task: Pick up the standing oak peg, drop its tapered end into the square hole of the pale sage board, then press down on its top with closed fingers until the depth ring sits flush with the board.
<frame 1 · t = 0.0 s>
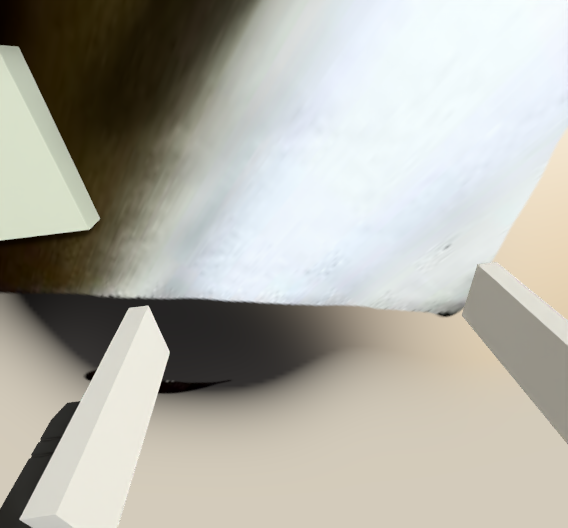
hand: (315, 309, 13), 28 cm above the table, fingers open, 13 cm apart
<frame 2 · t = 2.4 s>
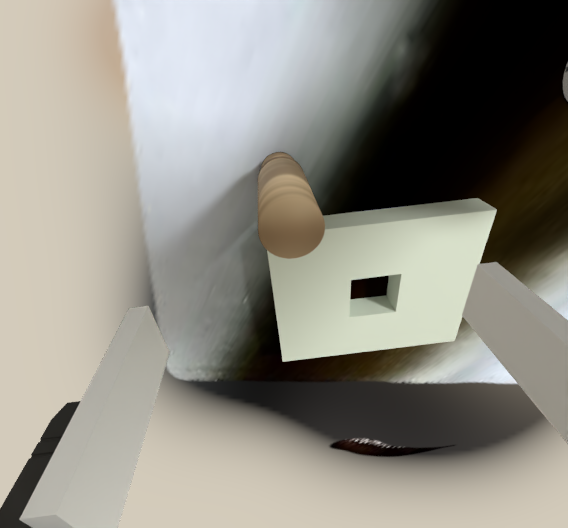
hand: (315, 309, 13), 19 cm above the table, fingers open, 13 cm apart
peg: (279, 171, 28), on the table
board: (366, 280, 36), on the table
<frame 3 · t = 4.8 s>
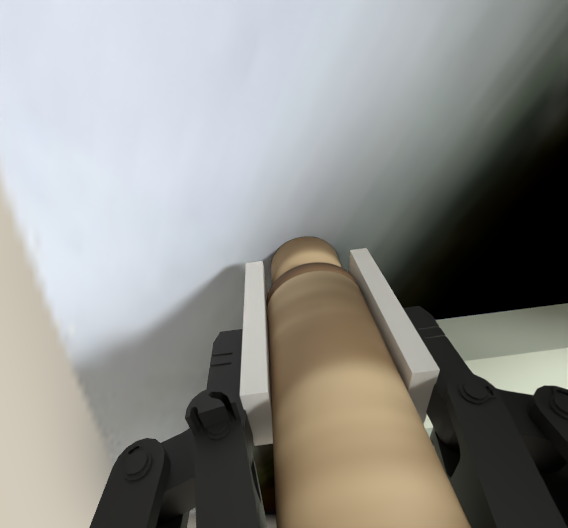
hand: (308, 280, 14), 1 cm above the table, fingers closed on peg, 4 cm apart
peg: (304, 266, 15), on the table, touching gripper
board: (433, 403, 23), on the table
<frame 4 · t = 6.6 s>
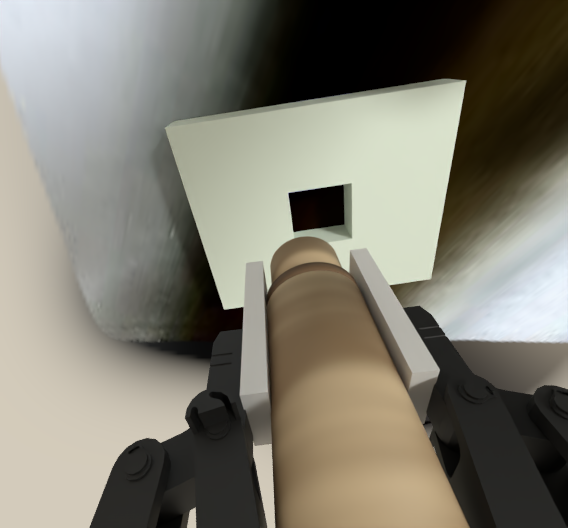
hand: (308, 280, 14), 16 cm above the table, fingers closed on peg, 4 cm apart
peg: (304, 266, 15), point 15 cm above the table, touching gripper
board: (316, 203, 29), on the table
when the fingers open (5 cm above the table, at t = 8.3 s): peg drops 4 cm, resting in board.
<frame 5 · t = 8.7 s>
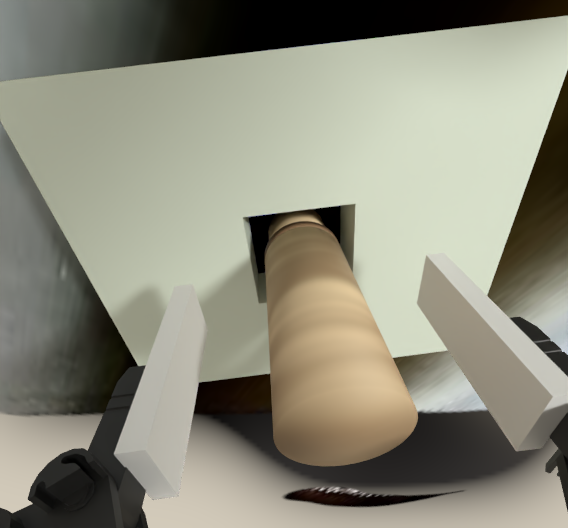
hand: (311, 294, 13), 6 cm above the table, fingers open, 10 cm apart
peg: (296, 231, 18), resting in board
board: (296, 231, 18), on the table
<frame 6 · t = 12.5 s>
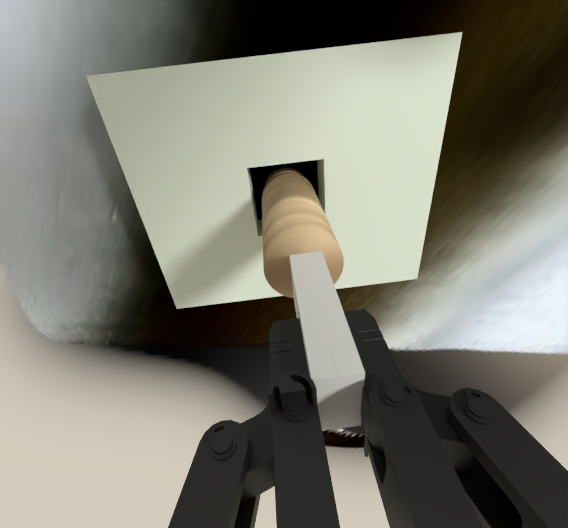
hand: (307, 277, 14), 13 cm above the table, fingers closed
peg: (285, 186, 25), resting in board
board: (285, 186, 25), on the table
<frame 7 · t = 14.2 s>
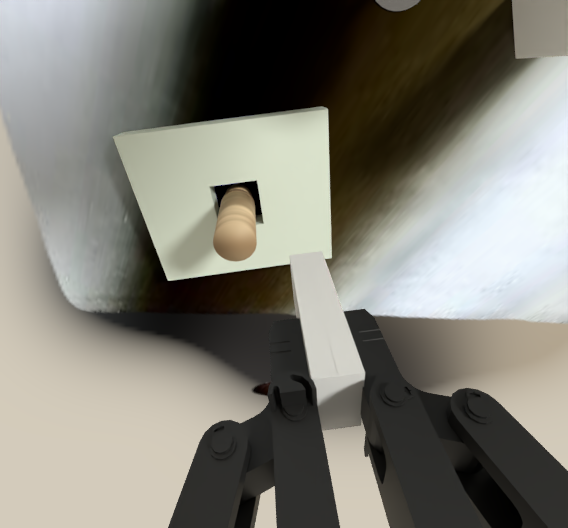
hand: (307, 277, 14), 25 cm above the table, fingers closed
peg: (238, 197, 38), resting in board
milk: (540, 12, 31), on the table
board: (238, 197, 38), on the table
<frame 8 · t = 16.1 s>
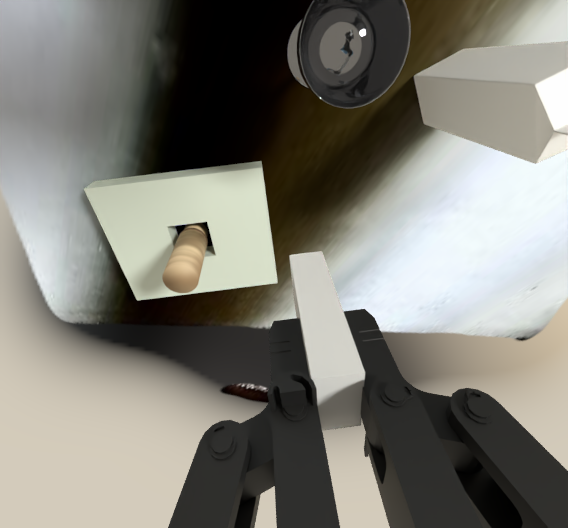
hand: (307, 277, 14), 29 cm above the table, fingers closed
peg: (195, 231, 45), resting in board
milk: (441, 88, 37), on the table
board: (195, 231, 45), on the table
wine glass: (318, 53, 34), on the table
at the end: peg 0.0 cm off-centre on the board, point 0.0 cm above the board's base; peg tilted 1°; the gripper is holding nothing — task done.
